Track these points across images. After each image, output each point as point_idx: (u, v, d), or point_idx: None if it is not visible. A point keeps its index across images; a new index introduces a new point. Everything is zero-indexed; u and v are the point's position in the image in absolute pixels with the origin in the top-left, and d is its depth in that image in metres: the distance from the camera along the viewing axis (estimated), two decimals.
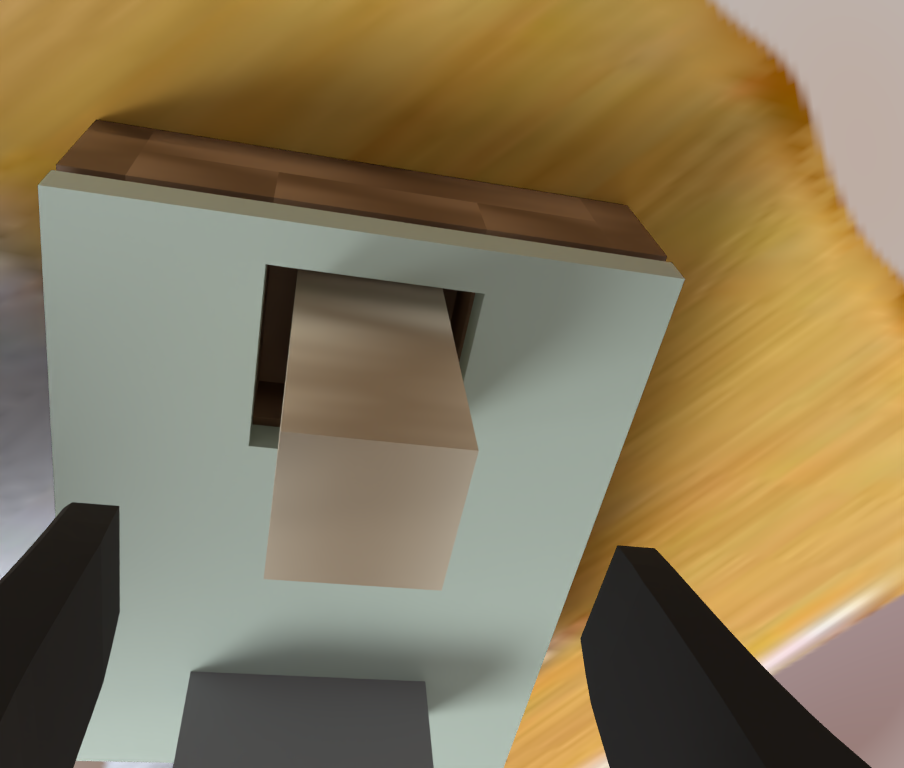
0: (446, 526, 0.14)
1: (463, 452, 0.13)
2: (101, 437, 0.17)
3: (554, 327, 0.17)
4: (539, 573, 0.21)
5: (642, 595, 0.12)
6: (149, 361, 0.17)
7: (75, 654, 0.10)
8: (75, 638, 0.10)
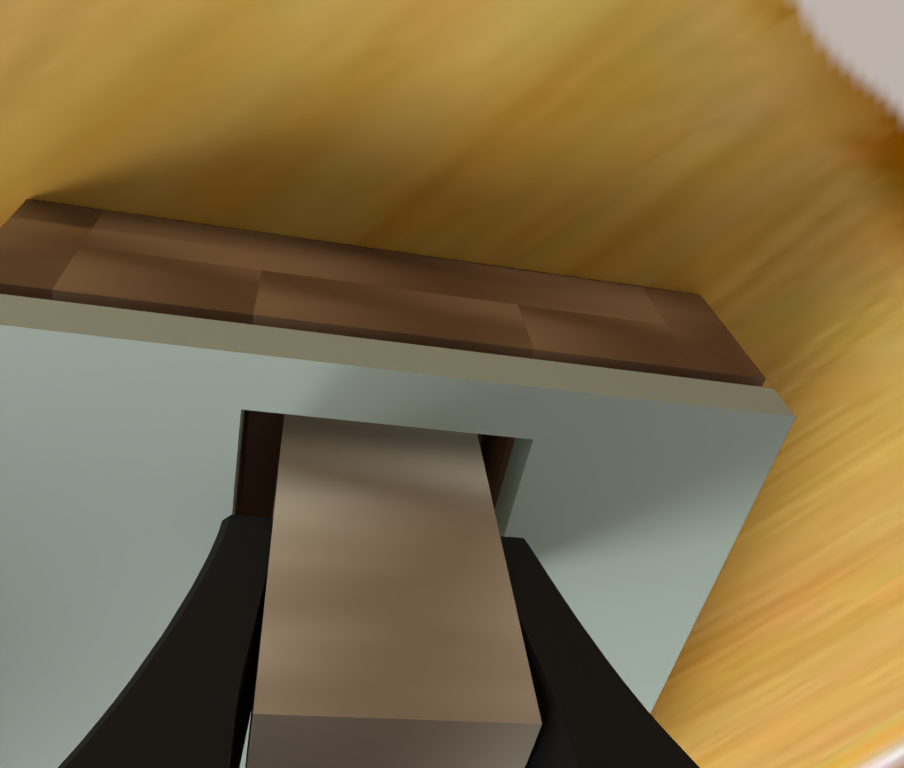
0: None
1: (519, 725, 0.09)
2: (29, 617, 0.13)
3: (623, 477, 0.13)
4: None
5: None
6: (89, 528, 0.13)
7: (252, 662, 0.10)
8: (254, 647, 0.10)
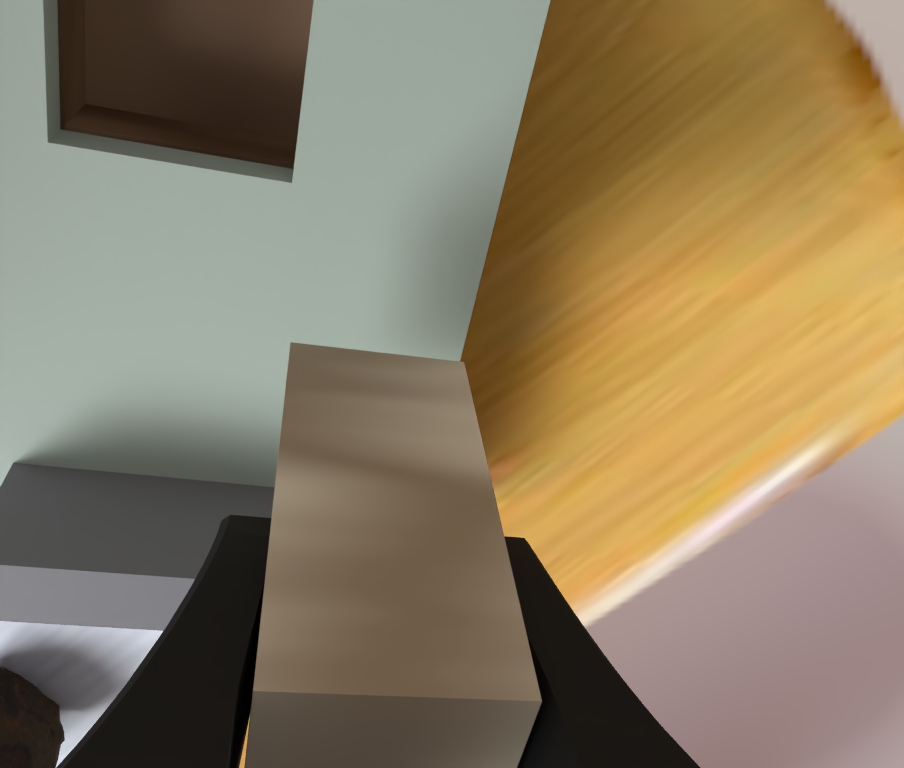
0: None
1: (519, 703, 0.09)
2: None
3: None
4: (420, 345, 0.18)
5: None
6: None
7: (252, 662, 0.10)
8: (254, 647, 0.10)
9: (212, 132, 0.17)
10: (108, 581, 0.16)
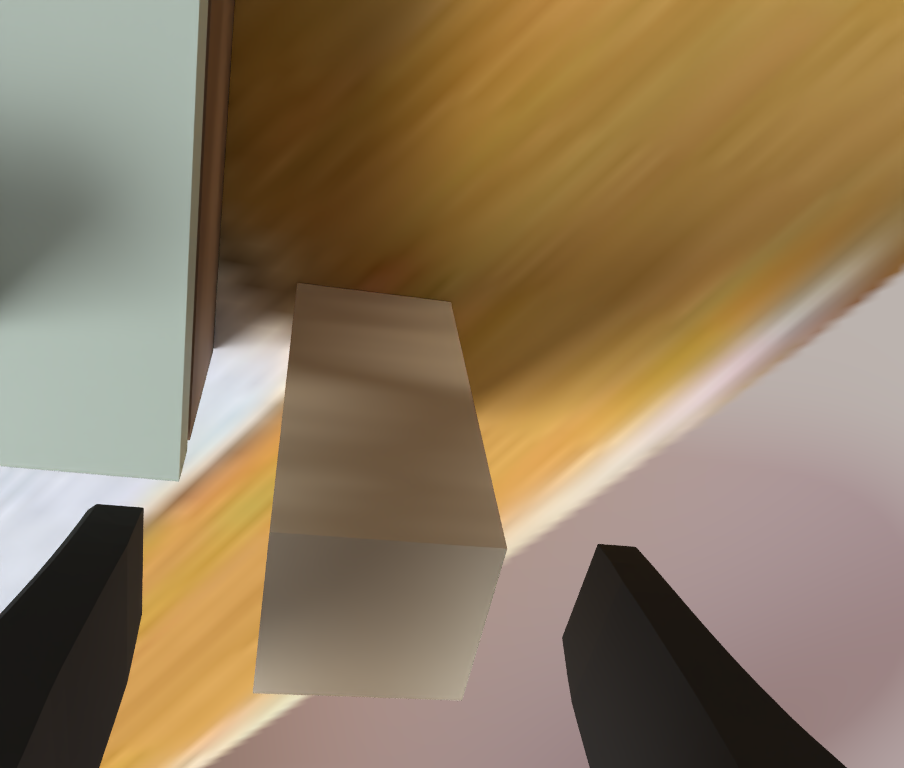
0: (468, 632, 0.12)
1: (488, 550, 0.11)
2: None
3: None
4: None
5: (621, 594, 0.12)
6: None
7: (103, 655, 0.10)
8: (103, 640, 0.10)
9: None
10: None
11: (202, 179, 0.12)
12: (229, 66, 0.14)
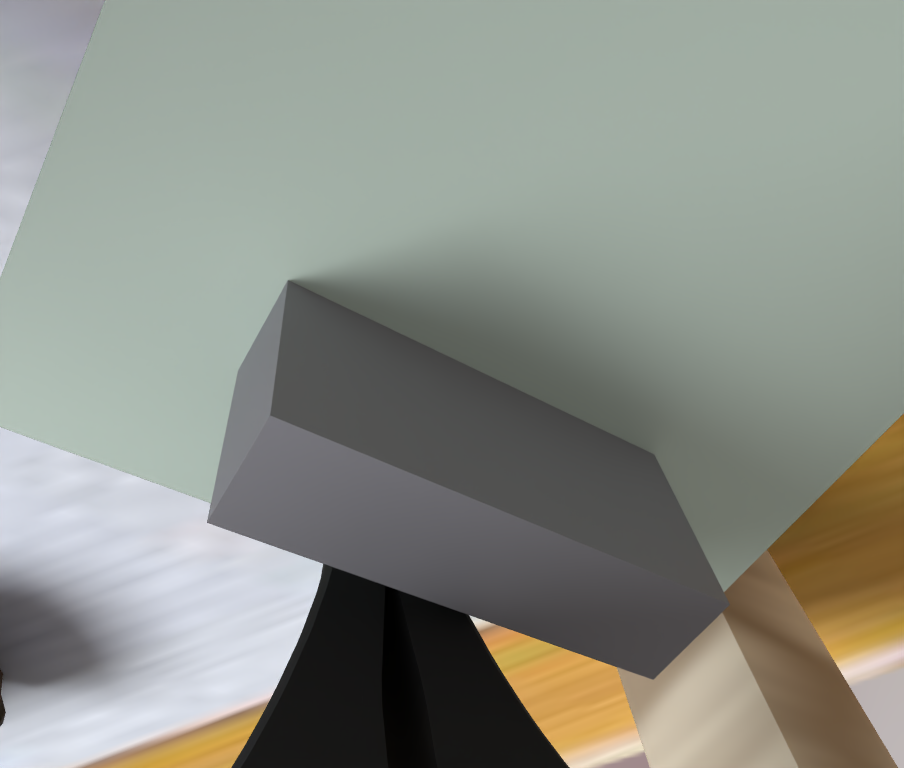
0: None
1: None
2: None
3: None
4: None
5: None
6: None
7: None
8: None
9: None
10: (483, 522, 0.09)
11: None
12: None
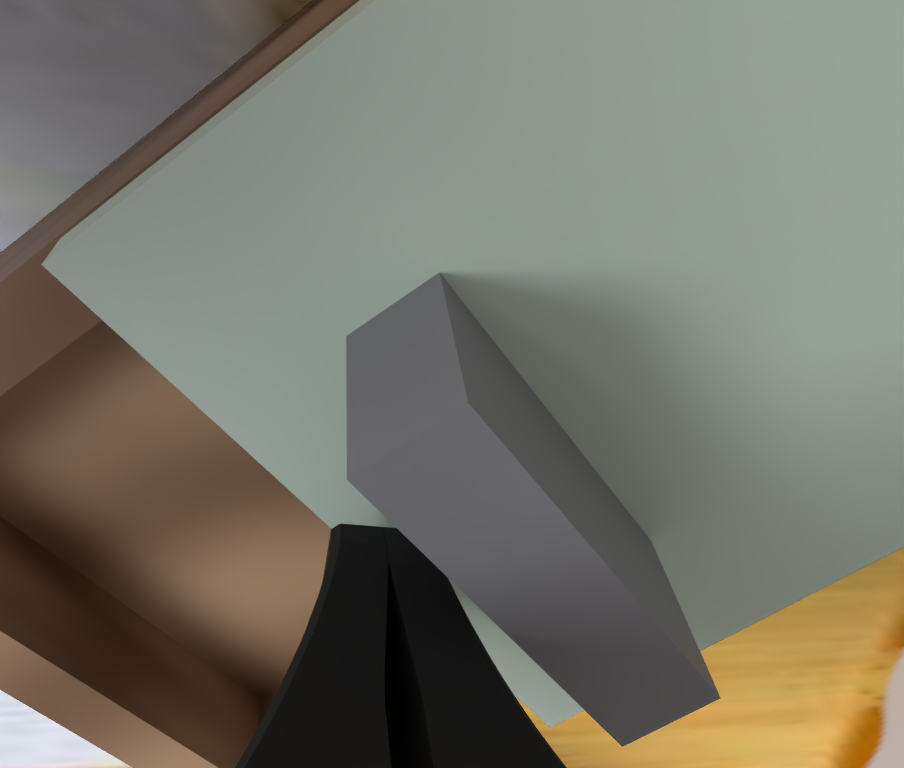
0: None
1: None
2: None
3: None
4: None
5: (388, 578, 0.11)
6: None
7: None
8: None
9: None
10: (578, 562, 0.10)
11: None
12: None
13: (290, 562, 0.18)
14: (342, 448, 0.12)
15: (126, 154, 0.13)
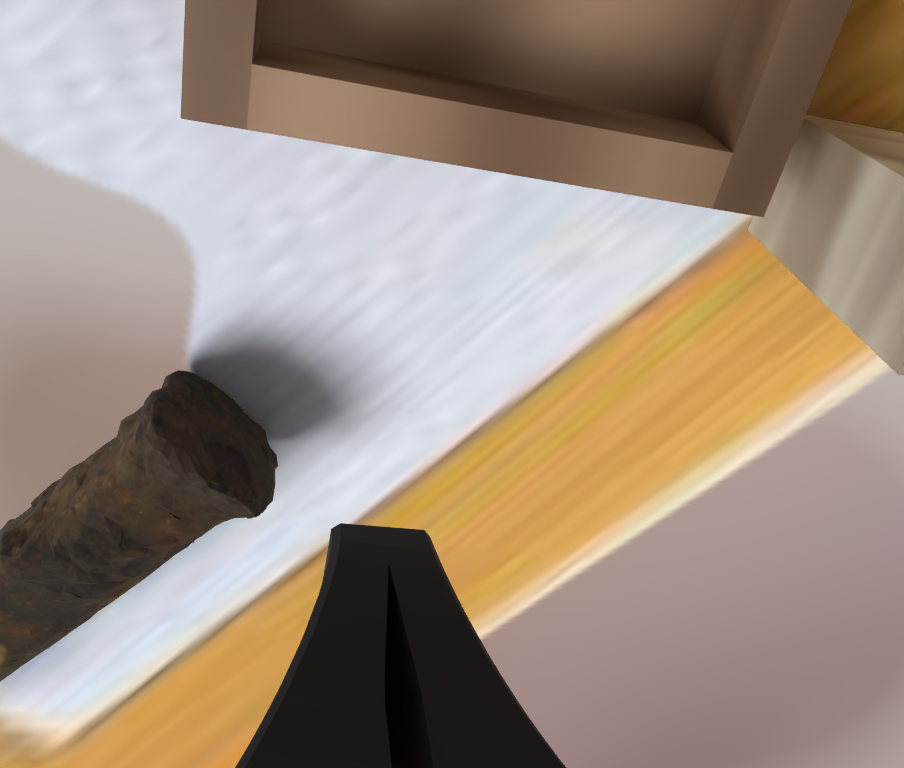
0: None
1: None
2: None
3: None
4: None
5: (388, 577, 0.11)
6: None
7: None
8: None
9: None
10: None
11: None
12: None
13: None
14: None
15: None
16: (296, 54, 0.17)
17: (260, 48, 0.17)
